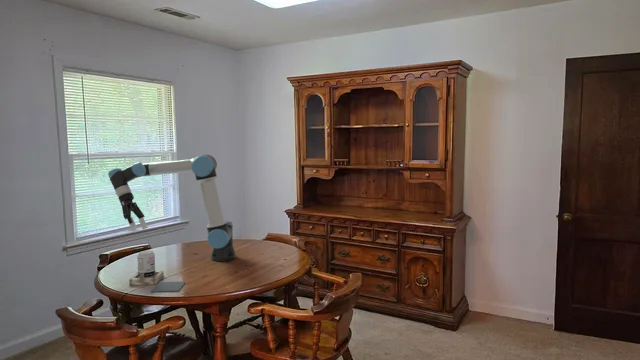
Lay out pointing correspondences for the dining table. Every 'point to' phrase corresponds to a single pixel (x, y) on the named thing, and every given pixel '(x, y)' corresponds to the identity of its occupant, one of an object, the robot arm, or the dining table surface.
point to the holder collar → (146, 279)
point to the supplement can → (146, 264)
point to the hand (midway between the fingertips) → (140, 228)
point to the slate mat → (168, 287)
